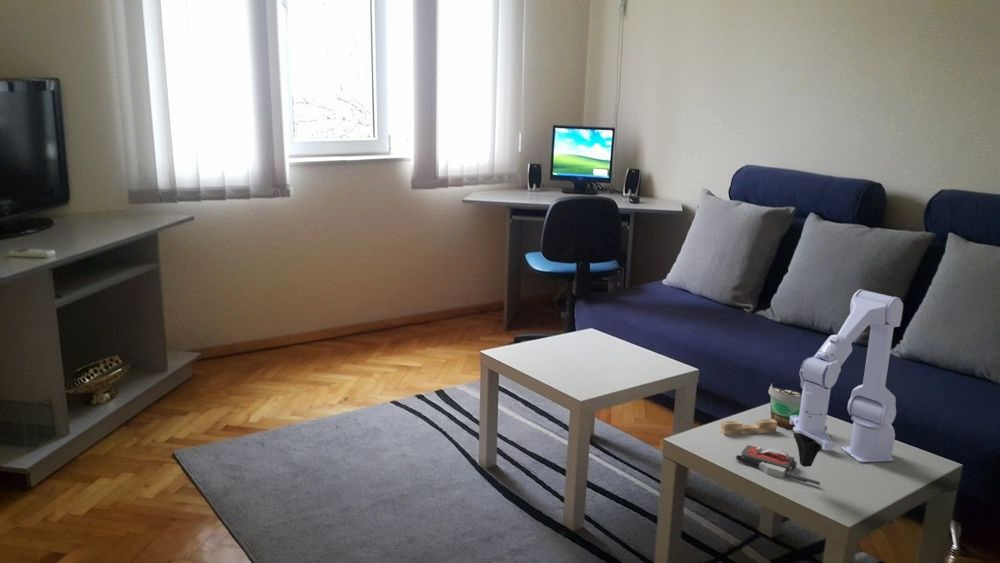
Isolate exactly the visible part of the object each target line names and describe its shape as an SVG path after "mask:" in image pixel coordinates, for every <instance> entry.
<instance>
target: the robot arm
mask: <svg viewBox="0 0 1000 563" xmlns="http://www.w3.org/2000/svg"><path fill="white" fill-rule="evenodd" d="M849 305H850V306H849V314H848V316H847V318H846V319H845V321H844V323H843V324H842V326H841V327H840V330H839V331H838V332H837V334H831V335H829V336H828V337H827V339H826V340H825V341H824V342H823V344H822V345H821V347H820V348H819V349H818V351H817V352H816V353H815V354H814V356H811V357H807V358H806V359H804V360H803V361H802V364H801V365H800V370H799V379H800V388H801V389H802V391H801V393H802V398H801V405H800V413H799V416H798V415H790V421H789V423H790V424H792V425H793V424H794V425H795V427H793V429H792V431H793V432H794V433H793V437H794V439H795V442H796V445H797V450H798V456H799V464H800V466H802V467H805V468H806V467H812V465H813V463H814V462H815V459H816V457H817V455H818V453H819V452H820V451H821V450H820V449H821V448H822V449H823V450H822V451H833V447H834V441H832V439H831V438H830V436H829V435H828V432H827V430H825V425H826V424H827V416H828V410H829V403H830V396H831V390H832V388H833V387H834V386H835V385H836V383H837V382H838V381H837V380H838V378H839V374H840V373H841V370H842V368H841V367H842V365H843V364H844V363H845V361H846V360H847V358H848V357H849V356H850V355H851V354H852V352H853V345H852V344H853V343H854V342H855V340H857V338H858V337H859V336H860V335H861V334H862V333H863V332H864V330H866V329H867V327H869V326H870V330H869V338H868V344H867V345H868V346H867V350H866V351H867V353H866V360H865V367H864V373H863V374H864V375H863V381H862V384H859V385H857V386H856V387H854V388H853V389H852V391H851V394H850V398H849V399H848V403H847V413H848V415H849V416H851V418H850V419H851V421H853V422H852V428H851V435H850V436H851V437H850V443H849V445H848V446H841V449H842V450H843V451H844V452H845V453H847V454H848V455H849V456H851V457H852V458H853V459H855V460H856V461H857V462H858V463H875V462H877V463H878V462H892V461H894V458H893V456H892V455H893V452H894V445H895V438H896V433H895V432H896V431H895V428H894V427H893V425H892V424H893V422H894V421H895V419H896V416H897V407H896V401H897V400H896V399H897V397H896V396H895V394H893V393H892V392H891V391H890V390H889V389H888V388H887V387H886V384H887V383H886V382H887V378H888V377H887V376H888V368H889V362H890V356H891V351H892V350H891V349H892V343H893V342H892V341H893V334H894V329H895V328H898V327H900V326H901V322H902V318H903V311H904V303H903V302H902V300H901V298H900V297H897V296H891V295H886V294H884V293H883V294H882V293H877V292H874V291H869V290H864V289H862V288H860V289H858V290H857V291H855V293H854V294H852V298H851V299H850V304H849Z"/></svg>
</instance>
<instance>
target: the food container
mask: <svg viewBox="0 0 1000 563" xmlns="http://www.w3.org/2000/svg"><path fill="white" fill-rule="evenodd" d="M768 394H769V396H770V419H774V420H775V421H776V422H777V427H779V428H783V429H788V430H793V427H795V425H794V424H793V425H792V424H790V423H789V421H790V415H798V416H799V413H800V405H801V398H802V392H798V391H796V390H792V389H786V388H780V387H774V386H773V383H771V384H770V386H769V389H768Z"/></svg>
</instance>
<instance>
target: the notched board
mask: <svg viewBox="0 0 1000 563" xmlns="http://www.w3.org/2000/svg"><path fill="white" fill-rule="evenodd" d="M720 423H721V425H720V430H719V431H720V432H719V433H721V434H722V435H724V436H726V435H727V436H728V435H729V436H730V435H748V434H749V435H750V434H751V435H752V434H770V433H771V434H773V433H777V428H778V426H777V422H776V421H775V420H774V419H771V418H769V419H768V418H767V419H766V418H764V419H756V420H755V424H743V423H742V422H741V421H740V420H723V421H721V422H720Z"/></svg>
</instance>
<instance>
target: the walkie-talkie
mask: <svg viewBox="0 0 1000 563" xmlns="http://www.w3.org/2000/svg"><path fill="white" fill-rule="evenodd" d="M735 459H736V461H739V462H741V463H742V464H744V465H748V464H749V465H748V466H751V465H752V467H755V468H758V469H760V471H762V472H763V471H764V473H765V475H769V476H773V477H775V476H776V477H775V478H779V479H784V478H788V479H794V480H797V481H799V482H804V483H807V482H808V483H811V484H815V485H818V486H819V485H820V483H821V482H819V481H818V480H814V479H811V478H808V477H804V476H802V475H797V474H794V473H792V470H793V471H795V470H796V468H797V464H798V463H797V461H796V459H795V457H793V456H790V455H789V454H788V452H786V451H783V450H779V449H776V448H771V447H770V448H767V449H765V448H762V446H759V445H758V447H757V446H754V445H749V444H747V445H746V447H745V448H743V450H742V451H741V455H740V454H737V455H735ZM745 463H746V464H745Z"/></svg>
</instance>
